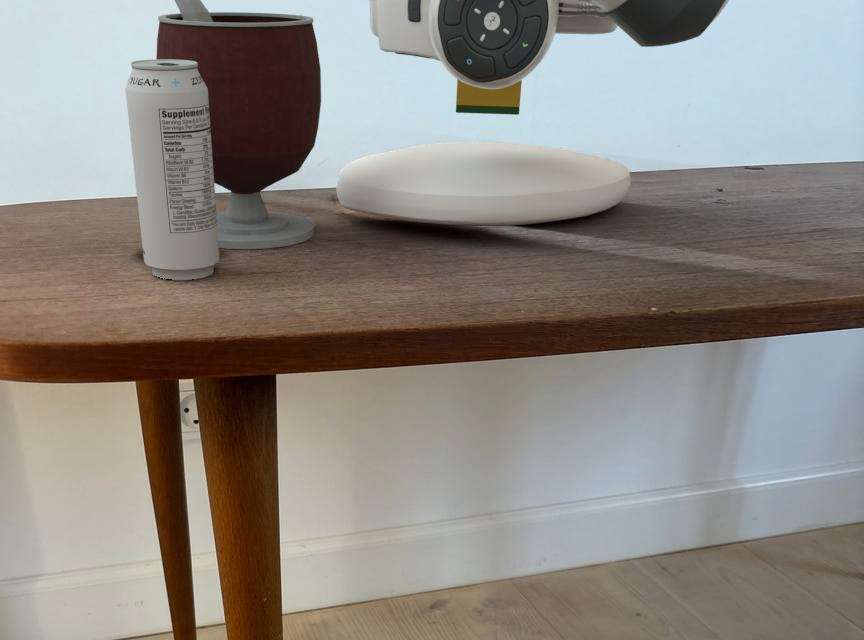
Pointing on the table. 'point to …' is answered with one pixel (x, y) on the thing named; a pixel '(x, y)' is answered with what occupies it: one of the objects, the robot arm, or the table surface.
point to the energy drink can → (173, 167)
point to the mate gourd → (252, 109)
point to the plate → (482, 184)
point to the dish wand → (488, 99)
